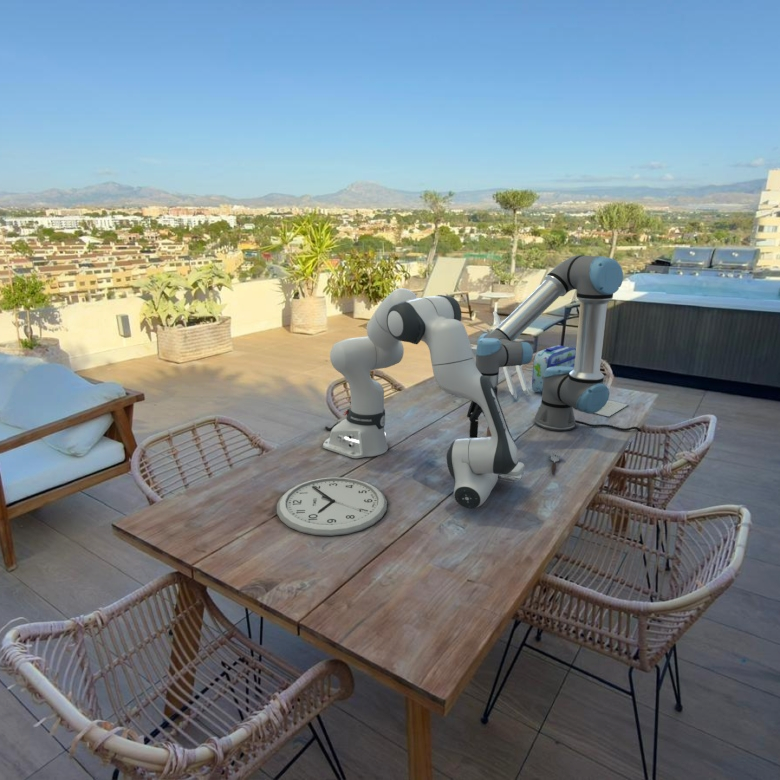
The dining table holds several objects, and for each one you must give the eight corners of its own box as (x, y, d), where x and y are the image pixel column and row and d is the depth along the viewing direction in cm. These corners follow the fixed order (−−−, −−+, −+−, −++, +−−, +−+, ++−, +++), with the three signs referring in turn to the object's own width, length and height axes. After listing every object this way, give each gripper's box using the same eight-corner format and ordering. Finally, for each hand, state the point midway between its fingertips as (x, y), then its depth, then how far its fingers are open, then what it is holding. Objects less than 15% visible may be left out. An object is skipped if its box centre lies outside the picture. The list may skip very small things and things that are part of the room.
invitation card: (608, 416, 214) (573, 407, 224) (608, 416, 214) (573, 408, 224) (628, 404, 229) (594, 396, 238) (628, 405, 229) (594, 397, 238)
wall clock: (392, 527, 129) (268, 531, 127) (391, 533, 130) (269, 537, 127) (383, 473, 158) (282, 475, 155) (383, 478, 158) (282, 480, 156)
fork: (547, 475, 162) (548, 469, 162) (551, 455, 176) (551, 449, 176) (556, 476, 161) (557, 470, 161) (559, 456, 176) (560, 451, 175)
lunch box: (548, 398, 236) (553, 353, 229) (527, 393, 243) (531, 349, 237) (575, 387, 253) (581, 344, 247) (555, 382, 260) (560, 341, 254)
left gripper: (520, 471, 144) (529, 452, 156) (450, 457, 152) (464, 440, 164) (518, 491, 146) (527, 471, 158) (448, 476, 154) (462, 458, 166)
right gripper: (459, 376, 181) (456, 434, 188) (494, 398, 159) (490, 462, 166) (478, 374, 183) (475, 431, 190) (516, 395, 161) (511, 459, 168)
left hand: (494, 455), depth 161 cm, fingers closed on jar, 5 cm apart
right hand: (482, 446), depth 178 cm, fingers open, 12 cm apart
